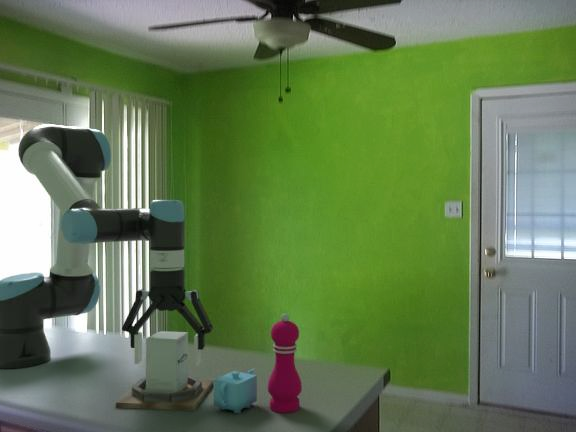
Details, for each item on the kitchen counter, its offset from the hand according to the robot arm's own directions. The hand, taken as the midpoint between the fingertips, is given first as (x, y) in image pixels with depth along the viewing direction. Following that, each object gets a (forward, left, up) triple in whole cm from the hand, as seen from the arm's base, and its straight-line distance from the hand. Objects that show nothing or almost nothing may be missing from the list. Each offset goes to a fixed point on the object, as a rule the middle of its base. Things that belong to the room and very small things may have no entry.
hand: (167, 363), depth 124 cm
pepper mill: (+27, -5, -7) cm, 28 cm away
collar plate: (0, 0, -7) cm, 7 cm away
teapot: (+17, -5, -8) cm, 19 cm away
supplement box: (0, 0, -6) cm, 6 cm away
